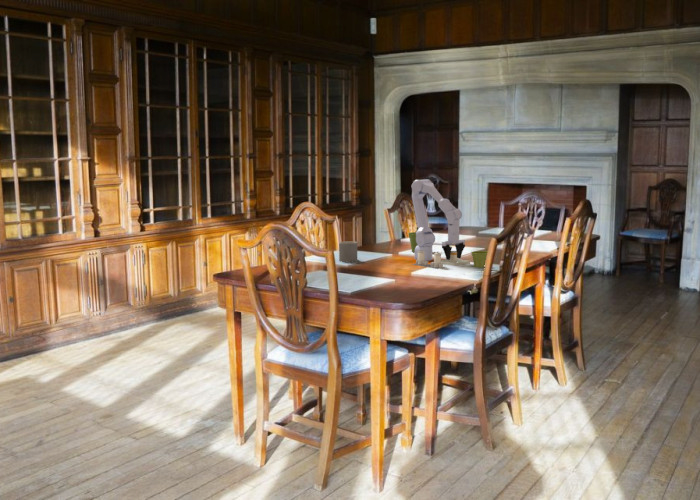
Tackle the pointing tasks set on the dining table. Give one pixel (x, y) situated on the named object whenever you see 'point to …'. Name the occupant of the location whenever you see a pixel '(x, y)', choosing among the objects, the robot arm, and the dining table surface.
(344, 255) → the grey block
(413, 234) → the plant pot
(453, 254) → the cylinder
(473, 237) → the dining table surface
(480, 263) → the plant pot
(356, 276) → the dining table surface
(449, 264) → the tray
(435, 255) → the fuse right
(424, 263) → the fuse holder
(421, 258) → the fuse left
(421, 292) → the dining table surface
